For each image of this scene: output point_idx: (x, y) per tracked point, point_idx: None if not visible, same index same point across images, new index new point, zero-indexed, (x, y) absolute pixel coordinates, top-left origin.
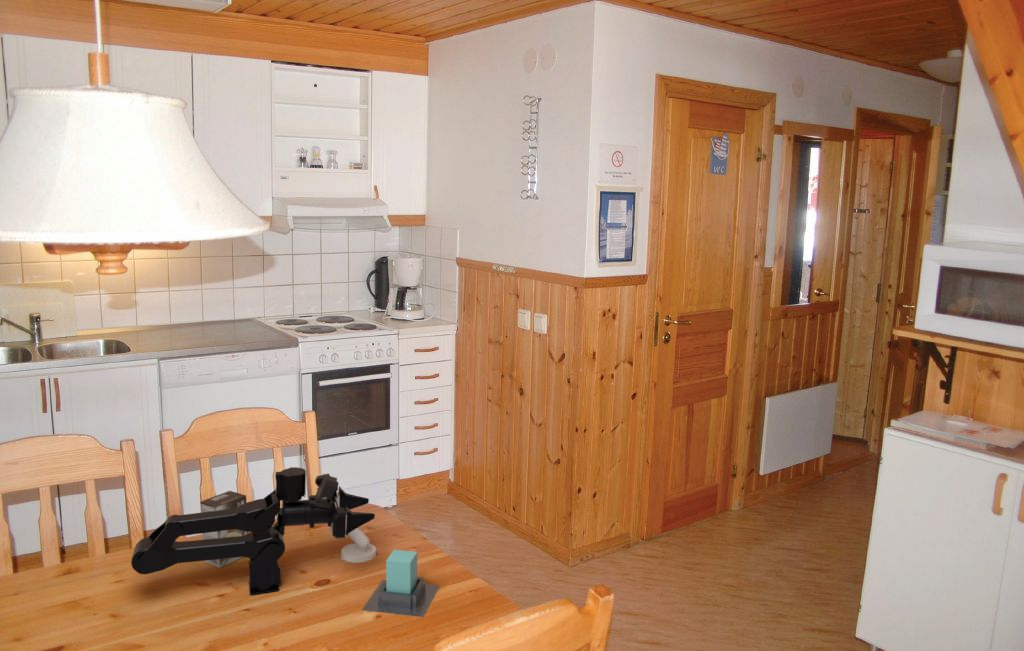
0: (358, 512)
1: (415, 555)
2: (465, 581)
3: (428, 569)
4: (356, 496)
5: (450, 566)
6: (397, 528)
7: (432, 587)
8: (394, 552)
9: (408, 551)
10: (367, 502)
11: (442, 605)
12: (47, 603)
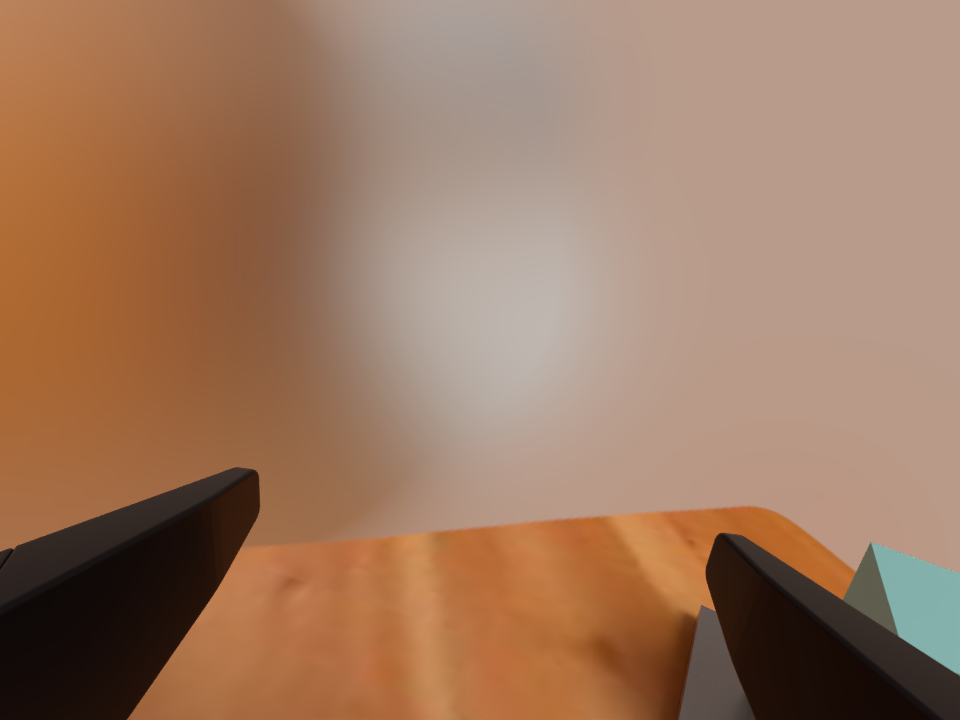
0: (943, 714)
1: (916, 562)
2: (625, 534)
3: (511, 600)
4: (85, 538)
5: (511, 535)
6: None
7: (720, 634)
8: (956, 661)
9: (887, 576)
10: (251, 514)
11: None
12: None
